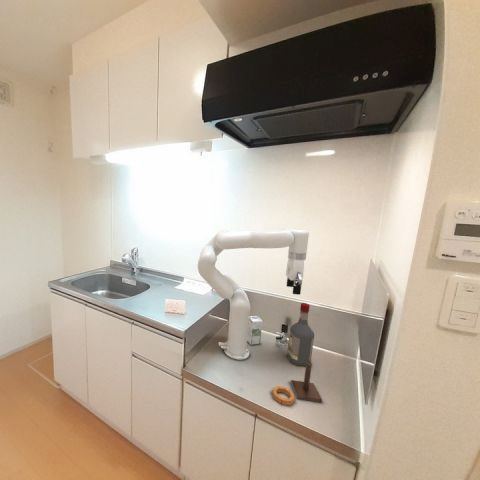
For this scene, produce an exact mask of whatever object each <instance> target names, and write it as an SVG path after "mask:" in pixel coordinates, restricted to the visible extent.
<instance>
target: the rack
mask: <svg viewBox="0 0 480 480" xmlns="http://www.w3.org/2000/svg"><path fill="white" fill-rule="evenodd" d="M312 367H313V364H312V363H309V362H307V363H306V366H305V371H304V378H303V381H301V380H293V379H291V380H290V385H291V387H292V389H293V393H294V394H295V397H296V399H297V400H303V401H310V402H317V403H322V401H323V398H322V396H321V395H320V393H319V391H318V388H317V387H316V385H315V383H313V382H311V374H312Z"/></svg>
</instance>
